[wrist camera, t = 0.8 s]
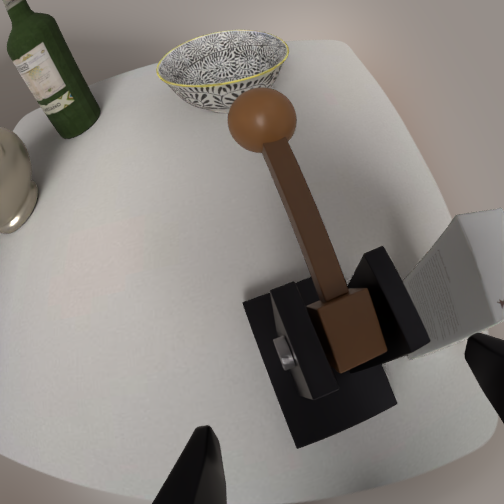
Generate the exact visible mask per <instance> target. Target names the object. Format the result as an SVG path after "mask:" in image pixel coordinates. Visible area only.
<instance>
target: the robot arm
mask: <svg viewBox="0 0 504 504" xmlns="http://www.w3.org/2000/svg"><path fill="white" fill-rule="evenodd" d="M465 359H466V361H467V363H468V365H469V367H470V368H471V370H472V372H473V374H474V376H475V378H476V379H477V381H478V383H479V385H480V387H481V389H482V390H483V392H484V394H485V395H486V397H487V398H488V400H489V401H490V403H491V404H492V406H493V407H494V409H495V410H496V412H497V413H498V415H499V417H500V418H501V420H502V421H503V423H504V340H501V339H498V338H495V337H492V336H489V335H485V334H482V333H475V334H473V335H471V336H470V337H469V338H468V340H467V345H466V350H465ZM152 504H227V497H226V481H225V475H224V469H223V462H222V456H221V449H220V443H219V440H218V438H217V436H216V435H215V433H214V431H213V430H212V428H211V427H210V426H209V425H206V426H199V427H197V428H196V429H195V430H194V432H193V434H192V436H191V437H190V439H189V441H188V443H187V445H186V446H185V448H184V450H183V452H182V453H181V455H180V457H179V459H178V460H177V462H176V464H175V465H174V467H173V469H172V471H171V472H170V474H169V476H168V478H167V479H166V481H165V483H164V484H163V486H162V488H161V489H160V491H159V493H158V494H157V496H156V498H155V499H154V501H153V503H152Z"/></svg>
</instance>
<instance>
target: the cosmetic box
mask: <svg viewBox="0 0 504 504" xmlns="http://www.w3.org/2000/svg"><path fill="white" fill-rule="evenodd" d="M403 283H404V285H405V287H406V289H407V291H408V293H409V295H410V297H411V299H412V301H413V303H414V305H415V307H416V310H417V312H418V314H419V316H420V318H421V320H422V322H423V324H424V327H425V329H426V331H427V333H428V336H429V338H430V340H431V341H430V343H428V344H426V345H425V346H423V347H421V348H420V349H418V350H416V351H415V352H413V353H410V354H408V359H409V360H412V359H415V358H418V357H421V356H425V355H427V354H430V353H433V352H436V351H439V350H441V349H444V348H446V347H449V346H451V345H454V344H456V343H458V342H461V341H463V340H465V339H467V338H469V337H470V336H471V335H473V334H475V333H480V332H482V331H485V330H487V329H489V328H491V327H493V326H495V325H497V324H498V323H501V322H502V321H504V211H503V209H502V208H499V209H493V210H486V211H479V212H473V213H466V214H459V215H456V216H455V217H454V218H453V220H452V221H451V223H450V224H449V225H448V227H447V228H446V229H445V231H444V232H443V233H442V235H441V236H440V237H439V239H438V240H437V241H436V242H435V244H434V245H433V246H432V248H431V249H430V250H429V251H428V252H427V254H426V255H425V256H424V257H423V258H422V260H421V261H420V262H419V263H418V264H417V266H416V267H415V268H414V269H413V270H412V271H411V272H410V274H409V275H408V276H407V277H406V278H405V279H404V280H403Z"/></svg>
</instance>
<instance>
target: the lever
mask: <svg viewBox="0 0 504 504" xmlns="http://www.w3.org/2000/svg"><path fill="white" fill-rule="evenodd" d="M296 121H297V119H296V113H295V110H294V107H293V105H292V103H291V102H290V101H289V99H288V98H287V97H286V96H285V95H283V94H282V93H280V92H278V91H276V90H274V89H271V88H264V87H260V88H253V89H250V90H248V91H245V92H244V93H242V94H241V95H239V96H238V97H237V98H236V99H235V101H234V102H233V103H232V105H231V107H230V110H229V113H228V127H229V130H230V133H231V135H232V137H233V138H234V140H235V141H236V142H237V143H238V144H239V145H240V146H242V147H243V148H245V149H247V150H249V151H252V152H256V153H262V154H263V157H264V159H265V161H266V164H267V166H268V168H269V171H270V173H271V176H272V178H273V180H274V183H275V185H276V188H277V190H278V192H279V195H280V197H281V200H282V202H283V205H284V207H285V210H286V212H287V215H288V217H289V220H290V222H291V225H292V227H293V230H294V232H295V235H296V238H297V240H298V243H299V245H300V248H301V251H302V253H303V256H304V258H305V261H306V264H307V266H308V269H309V272H310V274H311V277H312V280H313V282H314V285H315V288H316V291H317V293H318V296H319V299H320V301H317V302H315V303H312V304H310V305H307V307H306V308H307V311H308V314H309V316H310V319H311V321H312V324H313V326H314V328H315V331H316V333H317V335H318V338H319V340H320V343H321V345H322V347H323V350H324V352H325V355H326V357H327V360H328V362H329V364H330V365H331V366H332V367H333V368H334V369H335V370H336V371H338V372H339V373H343V372H345V371H347V370H350V369H352V368H354V367H356V366H358V365H360V364H363V363H365V362H367V361H369V360H371V359H373V358H375V357H377V356H379V355H381V354H383V353H385V352H386V351H387V347H386V344H385V340H384V337H383V334H382V331H381V327H380V324H379V321H378V318H377V315H376V312H375V308H374V305H373V302H372V299H371V296H370V294H369V291H368V289H367V288H354V289H348V287H347V284H346V281H345V278H344V276H343V273H342V270H341V267H340V265H339V262H338V259H337V257H336V254H335V252H334V249H333V246H332V244H331V241H330V239H329V236H328V234H327V231H326V229H325V226H324V224H323V221H322V219H321V216H320V214H319V211H318V209H317V206H316V204H315V202H314V199H313V197H312V195H311V192H310V190H309V188H308V185H307V183H306V181H305V178H304V176H303V174H302V172H301V169H300V167H299V165H298V163H297V160H296V158H295V156H294V154H293V152H292V150H291V147H290V145H289V143H288V141H289V140H290V139H291V138H292V136H293V134H294V131H295V128H296Z"/></svg>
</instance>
